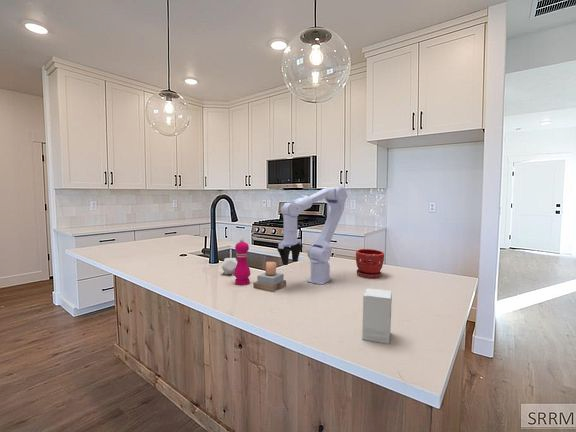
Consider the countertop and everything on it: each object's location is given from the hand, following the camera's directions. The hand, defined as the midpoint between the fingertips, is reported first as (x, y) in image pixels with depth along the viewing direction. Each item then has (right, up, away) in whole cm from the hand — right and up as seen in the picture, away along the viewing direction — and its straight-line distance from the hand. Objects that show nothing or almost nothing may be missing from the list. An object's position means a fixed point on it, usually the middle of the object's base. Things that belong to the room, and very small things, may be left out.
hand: (290, 263), depth 133 cm
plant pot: (+38, -9, +19) cm, 44 cm away
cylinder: (-8, -5, 0) cm, 10 cm away
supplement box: (+24, -14, -44) cm, 52 cm away
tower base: (-9, -11, +1) cm, 14 cm away
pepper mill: (-21, -10, +7) cm, 24 cm away
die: (-29, -9, +22) cm, 37 cm away
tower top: (-8, -8, +1) cm, 12 cm away
